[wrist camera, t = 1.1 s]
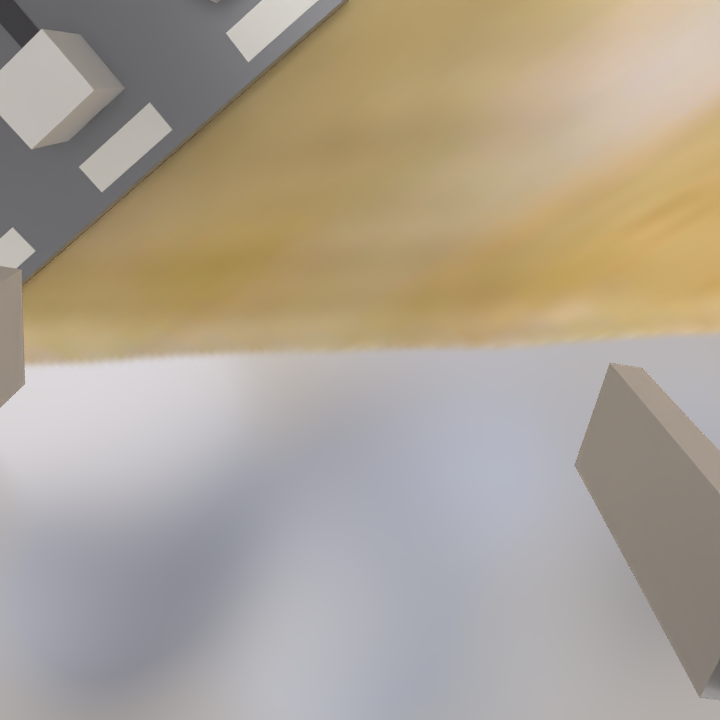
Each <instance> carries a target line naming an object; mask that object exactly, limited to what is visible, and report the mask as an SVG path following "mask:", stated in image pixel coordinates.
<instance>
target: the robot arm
mask: <svg viewBox="0 0 720 720" xmlns="http://www.w3.org/2000/svg"><path fill="white" fill-rule="evenodd" d="M24 384H25V370H24V336H23V301H22V269H16V268H10V267H3V266H0V407H1V406H2V405H3V404H4V403H6V402H7V401H8V400H9V399H10V398H11V397H12V396H13V395H14V394H15V393H16V392H17V391H18V390H19V389H20V388H21V387H22V386H23V385H24ZM575 466H576V469H577V470H578V472H579V474H580V476H581V478H582V480H583V482H584V483H585V485H586V487H587V489H588V491H589V493H590V494H591V496H592V498H593V500H594V502H595V504H596V506H597V507H598V509H599V511H600V513H601V515H602V517H603V519H604V521H605V522H606V524H607V526H608V528H609V530H610V532H611V534H612V535H613V537H614V539H615V541H616V543H617V544H618V547H619V548H620V550H621V552H622V554H623V556H624V558H625V560H626V561H627V563H628V565H629V567H630V569H631V571H632V573H633V574H634V576H635V578H636V580H637V582H638V584H639V586H640V587H641V589H642V591H643V593H644V595H645V597H646V599H647V600H648V602H649V604H650V606H651V608H652V610H653V612H654V614H655V615H656V617H657V619H658V621H659V623H660V625H661V627H662V628H663V630H664V632H665V634H666V636H667V638H668V639H669V641H670V643H671V645H672V647H673V649H674V650H675V652H676V654H677V656H678V658H679V660H680V662H681V664H682V665H683V667H684V669H685V671H686V673H687V675H688V677H689V678H690V680H691V682H692V684H693V686H694V688H695V690H696V691H697V693H698V695H699V697H700V698H706V699H714V700H720V451H719V450H718V449H717V448H716V447H715V446H714V445H713V443H711V441H710V440H709V439H708V438H707V437H706V436H705V435H704V434H703V433H702V432H701V431H700V430H699V428H698V427H697V426H696V425H695V424H694V423H693V422H692V421H691V420H690V419H689V418H688V417H687V416H686V415H685V413H684V412H682V410H681V409H680V408H679V407H678V406H677V405H676V404H675V403H674V402H673V401H672V400H671V399H670V397H669V396H668V395H667V394H666V393H665V392H664V391H663V390H662V389H661V388H660V387H659V385H658V384H656V382H655V381H654V380H653V379H652V378H651V377H650V376H649V375H648V374H647V373H646V372H645V370H644V369H643V368H639V367H633V366H626V365H620V364H614V363H610V364H609V367H608V370H607V373H606V376H605V379H604V382H603V385H602V387H601V390H600V393H599V396H598V399H597V402H596V405H595V408H594V410H593V414H592V416H591V419H590V422H589V425H588V428H587V431H586V434H585V437H584V440H583V442H582V445H581V448H580V451H579V454H578V457H577V460H576V463H575Z"/></svg>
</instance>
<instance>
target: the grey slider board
mask: <svg viewBox="0 0 720 720" xmlns="http://www.w3.org/2000/svg"><path fill="white" fill-rule="evenodd" d="M346 2H348V0H0V266H3V267H10V268H16V269H22V286H23V285H24V284H25V283H27V282H28V281H29V280H30V279H31V278H32V277H33V276H35V275H36V274H37V273H38V272H39V271H40V270H41V269H43V268H44V267H45V266H46V265H47V264H48V263H49V262H51V261H52V260H53V259H54V258H55V257H56V256H57V255H59V254H60V253H61V252H62V251H63V250H64V249H65V248H67V247H68V246H69V245H70V244H71V243H72V242H73V241H75V240H76V239H77V238H78V237H79V236H80V235H81V234H83V233H84V232H85V231H86V230H87V229H88V228H89V227H91V226H92V225H93V224H94V223H95V222H96V221H97V220H99V219H100V218H101V217H102V216H103V215H104V214H105V213H107V212H108V211H109V210H110V209H111V208H112V207H113V206H114V205H116V204H117V203H118V202H119V201H120V200H121V199H122V198H124V197H125V196H126V195H127V194H128V193H129V192H130V191H132V190H133V189H134V188H135V187H136V186H137V185H138V184H140V183H141V182H142V181H143V180H144V179H145V178H146V177H148V176H149V175H150V174H151V173H152V172H153V171H154V170H156V169H157V168H158V167H159V166H160V165H161V164H162V163H164V162H165V161H166V160H167V159H168V158H169V157H170V156H172V155H173V154H174V153H175V152H176V151H177V150H178V149H180V148H181V147H182V146H183V145H184V144H185V143H186V142H188V141H189V140H190V139H191V138H192V137H193V136H194V135H196V134H197V133H198V132H199V131H200V130H201V129H202V128H204V127H205V126H206V125H207V124H208V123H209V122H210V121H212V120H213V119H214V118H215V117H216V116H217V115H218V114H220V113H221V112H222V111H223V110H224V109H225V108H226V107H228V106H229V105H230V104H231V103H232V102H233V101H234V100H236V99H237V98H238V97H239V96H240V95H241V94H242V93H244V92H245V91H246V90H247V89H248V88H249V87H250V86H252V85H253V84H254V83H255V82H256V81H257V80H258V79H260V78H261V77H262V76H263V75H264V74H265V73H266V72H268V71H269V70H270V69H271V68H272V67H273V66H274V65H276V64H277V63H278V62H279V61H280V60H281V59H282V58H284V57H285V56H286V55H287V54H288V53H289V52H290V51H292V50H293V49H294V48H295V47H296V46H297V45H298V44H300V43H301V42H302V41H303V40H304V39H305V38H306V37H308V36H309V35H310V34H311V33H312V32H313V31H314V30H316V29H317V28H318V27H319V26H320V25H321V24H322V23H324V22H325V21H326V20H327V19H328V18H329V17H330V16H332V15H333V14H334V13H335V12H336V11H337V10H338V9H340V8H341V7H342V6H343V5H344V4H345V3H346Z"/></svg>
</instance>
